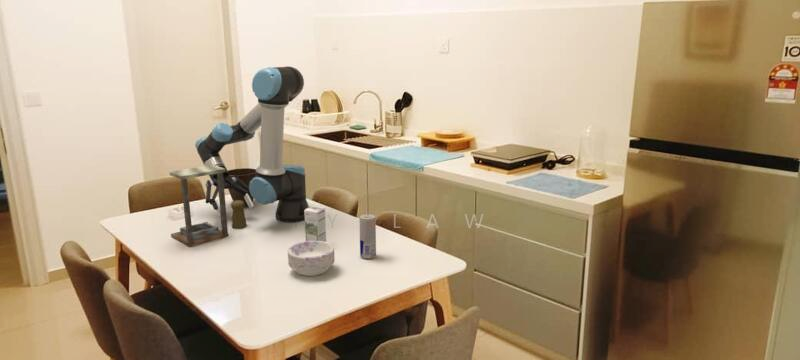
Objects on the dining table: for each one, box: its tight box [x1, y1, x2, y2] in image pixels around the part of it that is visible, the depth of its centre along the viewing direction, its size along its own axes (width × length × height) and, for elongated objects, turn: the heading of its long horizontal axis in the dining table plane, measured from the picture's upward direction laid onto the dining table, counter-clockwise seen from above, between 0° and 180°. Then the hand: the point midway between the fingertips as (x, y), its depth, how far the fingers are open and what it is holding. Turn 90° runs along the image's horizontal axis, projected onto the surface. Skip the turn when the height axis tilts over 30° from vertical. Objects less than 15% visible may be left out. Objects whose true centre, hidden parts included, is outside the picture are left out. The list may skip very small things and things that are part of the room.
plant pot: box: [227, 167, 256, 208], centre depth 255 cm, size 15×15×16 cm
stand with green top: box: [169, 165, 230, 248], centre depth 212 cm, size 17×16×27 cm
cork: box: [230, 200, 248, 230], centre depth 226 cm, size 6×6×11 cm
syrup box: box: [304, 205, 327, 242], centre depth 204 cm, size 6×6×14 cm
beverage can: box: [359, 213, 377, 260], centre depth 193 cm, size 6×6×15 cm
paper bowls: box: [287, 240, 336, 277], centre depth 183 cm, size 15×15×8 cm
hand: (237, 211), depth 226 cm, fingers open, 13 cm apart
